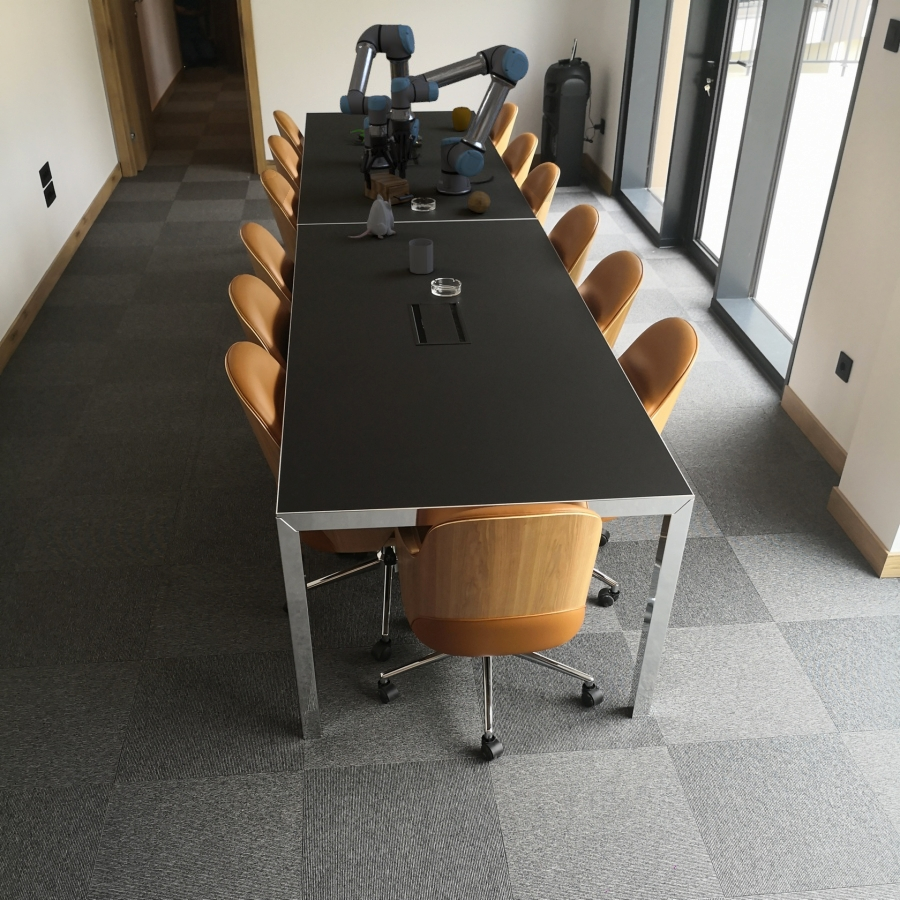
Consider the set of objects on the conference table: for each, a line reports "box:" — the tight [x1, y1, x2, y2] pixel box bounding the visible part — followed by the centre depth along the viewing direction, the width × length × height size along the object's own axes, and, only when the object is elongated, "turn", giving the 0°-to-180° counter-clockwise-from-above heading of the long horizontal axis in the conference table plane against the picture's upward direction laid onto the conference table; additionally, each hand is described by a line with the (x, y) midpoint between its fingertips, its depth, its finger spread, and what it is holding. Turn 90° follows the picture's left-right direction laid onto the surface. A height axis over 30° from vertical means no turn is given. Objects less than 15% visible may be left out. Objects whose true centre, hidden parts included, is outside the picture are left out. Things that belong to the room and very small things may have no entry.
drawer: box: [388, 183, 414, 205], centre depth 375 cm, size 22×10×7 cm, turn 36°
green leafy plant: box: [348, 128, 365, 146], centre depth 466 cm, size 6×13×30 cm
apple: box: [451, 105, 472, 132], centre depth 487 cm, size 11×11×13 cm
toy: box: [347, 194, 396, 240], centre depth 332 cm, size 9×24×15 cm, turn 137°
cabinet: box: [364, 171, 409, 206], centre depth 378 cm, size 18×11×9 cm, turn 36°
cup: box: [408, 237, 434, 275], centre depth 305 cm, size 8×8×10 cm
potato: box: [467, 190, 491, 214], centre depth 363 cm, size 10×14×8 cm
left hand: (380, 186), depth 382 cm, fingers closed on cabinet, 11 cm apart
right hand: (402, 177), depth 365 cm, fingers closed
